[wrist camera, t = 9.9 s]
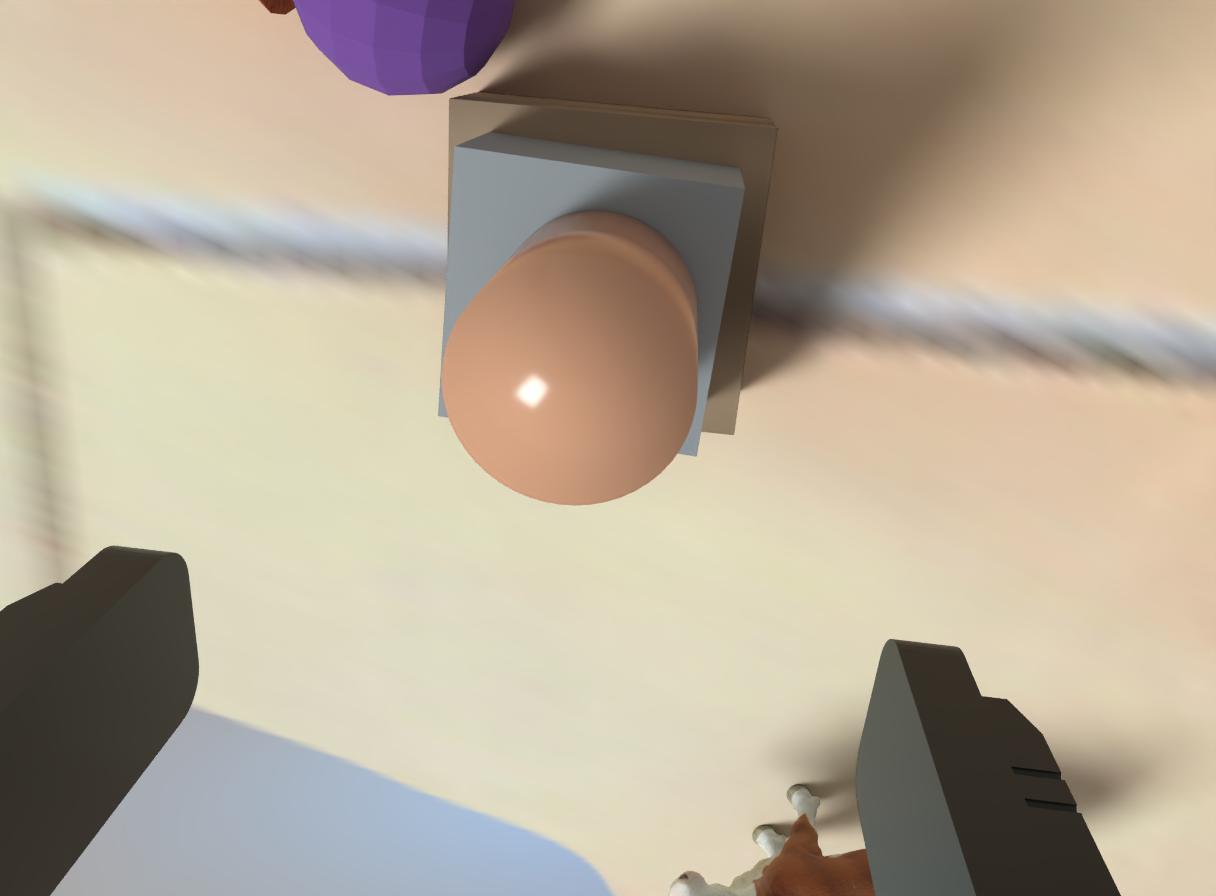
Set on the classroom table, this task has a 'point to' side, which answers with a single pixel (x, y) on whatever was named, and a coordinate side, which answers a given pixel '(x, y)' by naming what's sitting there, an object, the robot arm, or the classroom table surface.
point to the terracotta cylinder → (577, 361)
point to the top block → (581, 181)
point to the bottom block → (660, 136)
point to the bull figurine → (791, 864)
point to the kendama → (404, 39)
